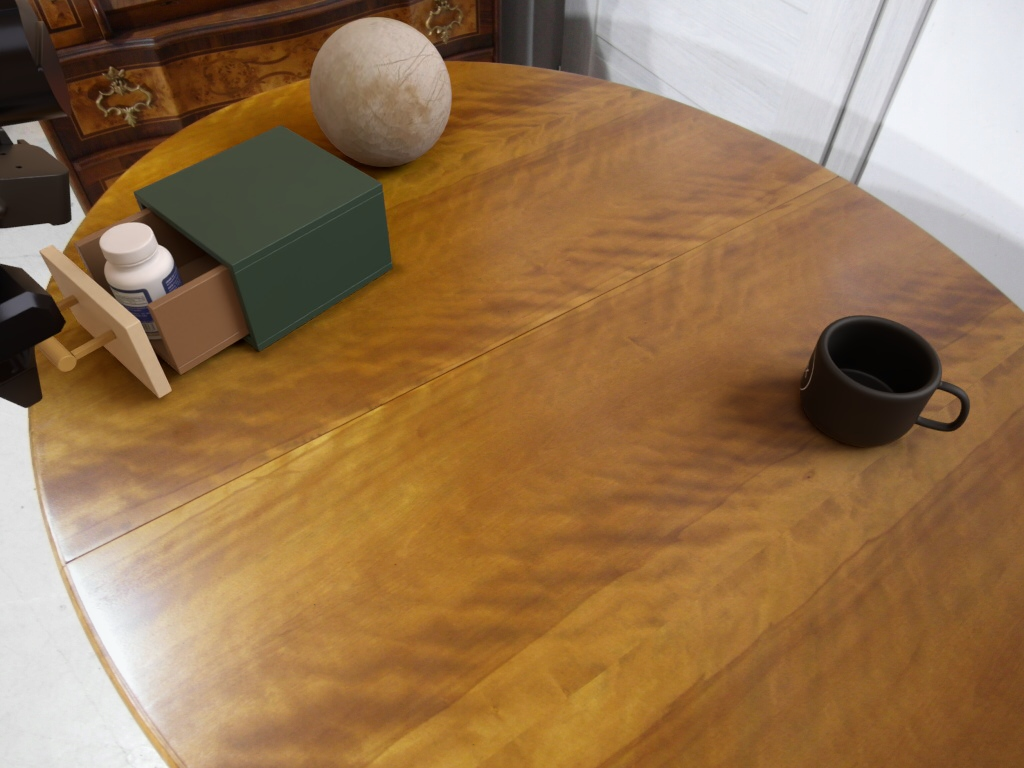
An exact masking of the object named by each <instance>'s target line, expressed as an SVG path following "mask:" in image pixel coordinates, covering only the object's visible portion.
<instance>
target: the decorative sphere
mask: <svg viewBox="0 0 1024 768" xmlns="http://www.w3.org/2000/svg"><path fill="white" fill-rule="evenodd" d="M451 83H452V82H451V78H450V74H449V72H448V68H447V65H446V62H445V61H444V59H443V57H442V56H441V54H440V52H439V50H438V49H437V48H436V46H435V45H434V44H433V43H432V42H431V41H430V39H428V38H427V37H426V35H424V34H423V33H422V32H420V31H419V30H418V29H416V28H415V27H413V26H411V25H409V24H407V23H405V22H403V21H400V20H397V19H393V18H389V17H382V16H374V17H373V16H371V17H364V18H359V19H356V20H353V21H350V22H348V23H347V24H344V25H343V26H341V27H340V28H338V29H337V30H336V31H334V32H333V33H332V34H331V35H330V36H329V37H328V38H327V39H326V41H324V43H323V44H322V46H321V47H320V49H319V50H318V52H317V54H316V56H315V59H314V61H313V63H312V68H311V71H310V77H309V97H310V98H309V100H310V105H311V108H312V112H313V115H314V118H315V120H316V122H317V124H318V127H319V128H320V130H321V131H322V133H323V135H324V136H325V137H326V138H327V140H328V141H329V142H330V144H332V145H333V146H334V148H336V149H337V150H339V152H341V153H342V154H344V155H345V156H347V157H348V158H351V159H352V160H354V161H356V162H358V163H361V164H364V165H367V166H371V167H379V168H390V167H391V168H392V167H398V166H402V165H405V164H408V163H411V162H413V161H415V160H417V159H418V158H420V157H422V156H423V155H425V154H426V153H427V152H428V151H430V149H431V148H433V147H434V146H435V144H436V143H437V142H438V140H439V139H440V138H441V136H442V135H443V133H444V131H445V129H446V126H447V124H448V121H449V118H450V116H451V115H450V114H451V111H452V110H451V109H452V102H453V101H452V99H453V95H452V84H451Z"/></svg>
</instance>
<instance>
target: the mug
mask: <svg viewBox="0 0 1024 768" xmlns="http://www.w3.org/2000/svg"><path fill="white" fill-rule="evenodd" d="M942 376H943V366H942V362H941V359H940V357H939V355H938V353H937V351H936V350H935V348H934V347H933V346H932V345H931V344H930V342H928V341H927V339H925V338H924V337H923V336H922V335H921V334H919V333H918V332H916V331H915V330H914V329H912V328H910V327H908V326H906V325H904V324H902V323H900V322H897V321H894V320H892V319H889V318H886V317H881V316H875V315H869V314H868V315H866V314H857V315H856V314H855V315H848V316H844V317H840V318H839V319H836V320H834V321H833V322H831V323H829V324H828V325H827V326H826V327H825V328H824V329H823V330H822V332H821V334H820V335H819V336H818V339H817V341H816V344H815V346H814V348H813V351H812V353H811V355H810V357H809V360H808V362H807V364H806V367H805V369H804V371H803V373H802V376H801V379H800V384H799V396H800V401H801V406H802V408H803V410H804V412H805V414H806V416H807V418H808V419H809V421H810V423H812V424H813V425H814V426H815V428H817V429H818V430H820V431H821V432H822V433H824V435H826V436H828V437H830V438H832V439H834V440H836V441H838V442H840V443H843V444H845V445H850V446H854V447H859V448H876V447H881V446H884V445H888V444H891V443H892V442H895V441H897V440H899V439H900V438H902V437H903V436H905V435H906V434H907V433H908V432H910V431H911V429H912V428H913V427H914V425H917V426H920V427H923V428H926V429H930V430H933V431H937V432H943V433H951V432H954V431H957V430H958V429H959V428H961V427H962V426H963V425H964V424H965V422H966V421H967V419H968V418H969V414H970V410H971V400H970V398H969V397H970V396H969V395H968V393H967V392H966V391H965V389H963V388H961V387H960V386H958V385H956V384H954V383H951V382H949V381H946V380H945V381H944V380H942V378H943V377H942ZM937 390H939V391H941V392H946V393H947V394H950V395H952V396H953V397H954V396H955V397H956V398H957V399H958V400H959V401H960V411H959V414H958V415H957V417H956V418H955V419H954V420H953V421H951V422H943V421H938V420H934V419H930V418H927V417H924V416H922V415H921V414H922V413H923V410H924V409H925V407H926V406H927V404H928V403H929V401H930V400H931V398H932V397H933V395H934V394H935V393H936V391H937Z"/></svg>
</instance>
